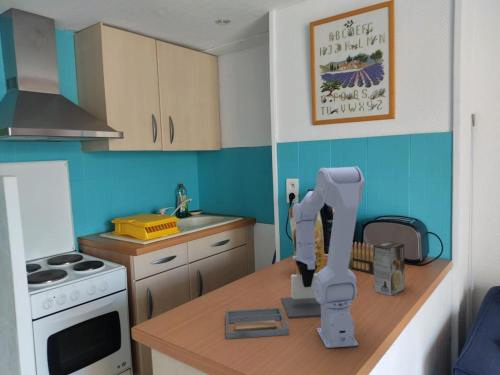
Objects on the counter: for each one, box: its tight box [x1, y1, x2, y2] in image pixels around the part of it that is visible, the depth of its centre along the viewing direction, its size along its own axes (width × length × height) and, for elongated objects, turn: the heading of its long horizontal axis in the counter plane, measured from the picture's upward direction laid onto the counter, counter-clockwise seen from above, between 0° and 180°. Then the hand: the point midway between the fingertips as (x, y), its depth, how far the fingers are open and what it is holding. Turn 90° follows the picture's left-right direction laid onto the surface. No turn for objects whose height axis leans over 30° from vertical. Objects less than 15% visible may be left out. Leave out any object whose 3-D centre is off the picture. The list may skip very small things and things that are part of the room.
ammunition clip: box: [350, 241, 374, 275], centre depth 143 cm, size 11×2×12 cm, turn 43°
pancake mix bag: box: [288, 206, 325, 275], centre depth 140 cm, size 7×19×28 cm, turn 125°
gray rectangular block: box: [290, 273, 317, 299], centre depth 110 cm, size 2×9×7 cm, turn 94°
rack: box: [225, 307, 290, 340], centre depth 99 cm, size 14×17×2 cm
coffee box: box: [373, 241, 405, 297], centre depth 121 cm, size 9×6×16 cm
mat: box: [280, 296, 321, 319], centre depth 110 cm, size 14×14×1 cm
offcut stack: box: [233, 320, 280, 332], centre depth 96 cm, size 4×12×2 cm, turn 94°
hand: (306, 285), depth 110 cm, fingers closed on gray rectangular block, 2 cm apart
